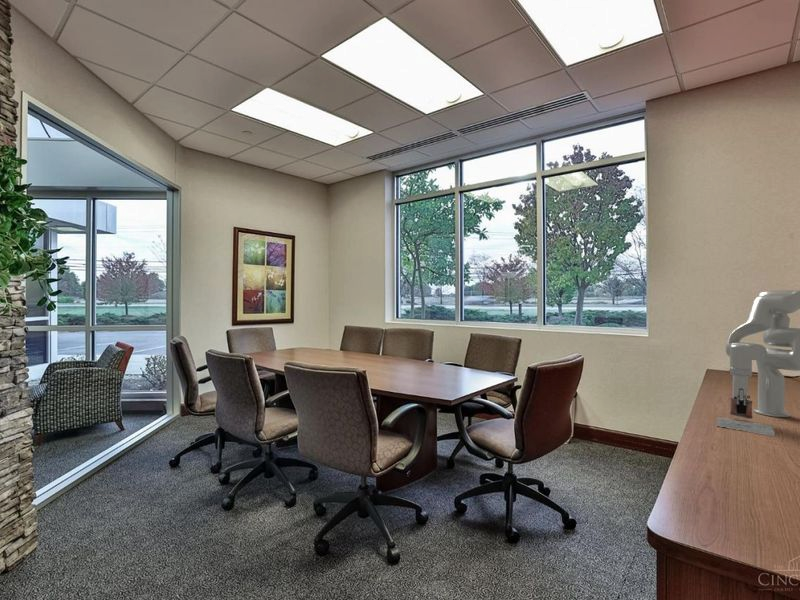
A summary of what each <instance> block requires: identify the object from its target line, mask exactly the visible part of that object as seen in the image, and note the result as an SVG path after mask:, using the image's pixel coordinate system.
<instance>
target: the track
mask: <svg viewBox="0 0 800 600" xmlns="http://www.w3.org/2000/svg"><path fill="white" fill-rule="evenodd" d="M717 426H720V427H719V428H721V427H726V428H725V429H727V428H732V429H731V430H733V429H736V430H735V431H739V430H743V431H742V432H746V431H747V433H752V432H753V434H758V435H759V434H760V435H766V436H770V437H771V436H772V437H775V436H776V435H775V433H776V432H775V429H773V425H771V424H765V423H759V422H751V421H747V420H746V421H744V420H739V419H738V420H737V419H731V418H725V417H718V416H717V417H716V427H717Z"/></svg>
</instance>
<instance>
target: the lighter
mask: <svg viewBox="0 0 800 600" xmlns="http://www.w3.org/2000/svg"><path fill="white" fill-rule="evenodd" d="M738 397H739V398H740V396H738ZM743 398H744V397H743ZM749 399H750V400H749ZM729 400H730V413H729V415H732V416H735V417H740V418H743V419H744V418H745V419H748V420H749V419H753V410H752V409H753V401H752V400H751V395H749V394H748V396H747V398H746V399H745V405H746V414H739V413H737V397H730V398H729ZM743 400H744V399H743Z"/></svg>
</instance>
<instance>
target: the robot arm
mask: <svg viewBox="0 0 800 600" xmlns="http://www.w3.org/2000/svg"><path fill="white" fill-rule="evenodd" d="M799 310H800V290H798V289H797V290H796V289H795V290H794V289H791V290H790V289H789V290H785V289H784V290H781V289H780V290H779V289H778V290H775V289H774V290H766V291H764V290H763V291H762V292H760V293H759V294H758V295H757V297H756V298H754V300H753V302H752V305H751V307H750V311H749V314H748V317H747V320H746V321H745V323H743V324H741V325H739V326H738V327H736V328H735V329H734V330H733V331H731V333H730V334H729V337H728V338H727V342H726V345H725V353H726V355H727V356H728V357H729V374H730V375H731V376H732V398H734V397H736V398H737V413H739V414H746V405H745V399H748V398H747V396H748V395H749V378H751V377H753V369H752V368H753V367H752V366H753V362H752V361H756V367H757V368H756V369H757V407H755V408H752V409H753V410H752V412H754V413H756V414H759V415H761V416H762V415H764V416H768V417H776V418H789V417H790V414H789V413H788V412H787V411H785V410H786V409H785V407H786V406H785V405H786V404H785V403H786V402H785V401H786V398H785V397H786V395H785V394H786V393H785V392H786V389H785V388H786V377H785V376H784V375H783V373H782V372H781V371H780V370H784V371H794V372H800V328H799V327H790V322H791V318H790V317H789V314H793V313H795V312H797V311H799ZM762 332H763V335H762V337H763V338H762V341H763V343H764V344H765V345H767V346H770V347H765V346H764V345H763V344H759V343H751V342H741V341H742V340H743V339H744V338H746V337H749V336H751V335H754V334H759V333H762ZM771 347H775V348H771ZM778 347H779V348H778ZM782 348H791V349H782ZM738 396H740V398H739V397H738ZM743 397H744V398H743ZM743 399H744V400H743Z"/></svg>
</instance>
